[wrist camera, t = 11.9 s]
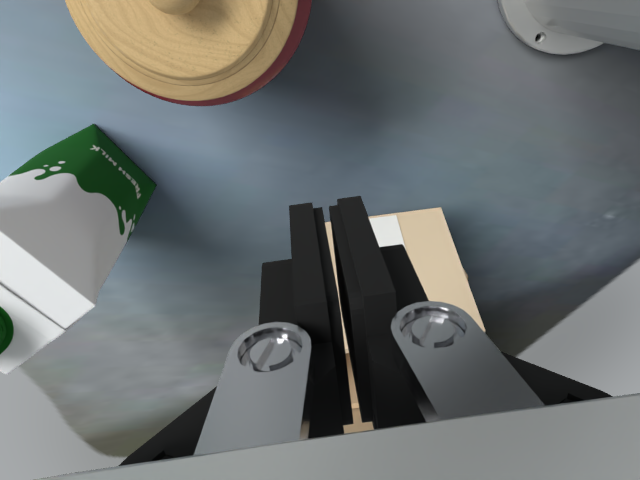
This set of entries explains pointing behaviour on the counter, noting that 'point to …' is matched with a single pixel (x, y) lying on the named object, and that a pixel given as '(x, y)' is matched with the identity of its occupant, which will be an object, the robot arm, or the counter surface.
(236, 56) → the canister
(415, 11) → the counter surface
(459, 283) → the panel
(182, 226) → the counter surface
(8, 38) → the counter surface
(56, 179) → the milk carton
